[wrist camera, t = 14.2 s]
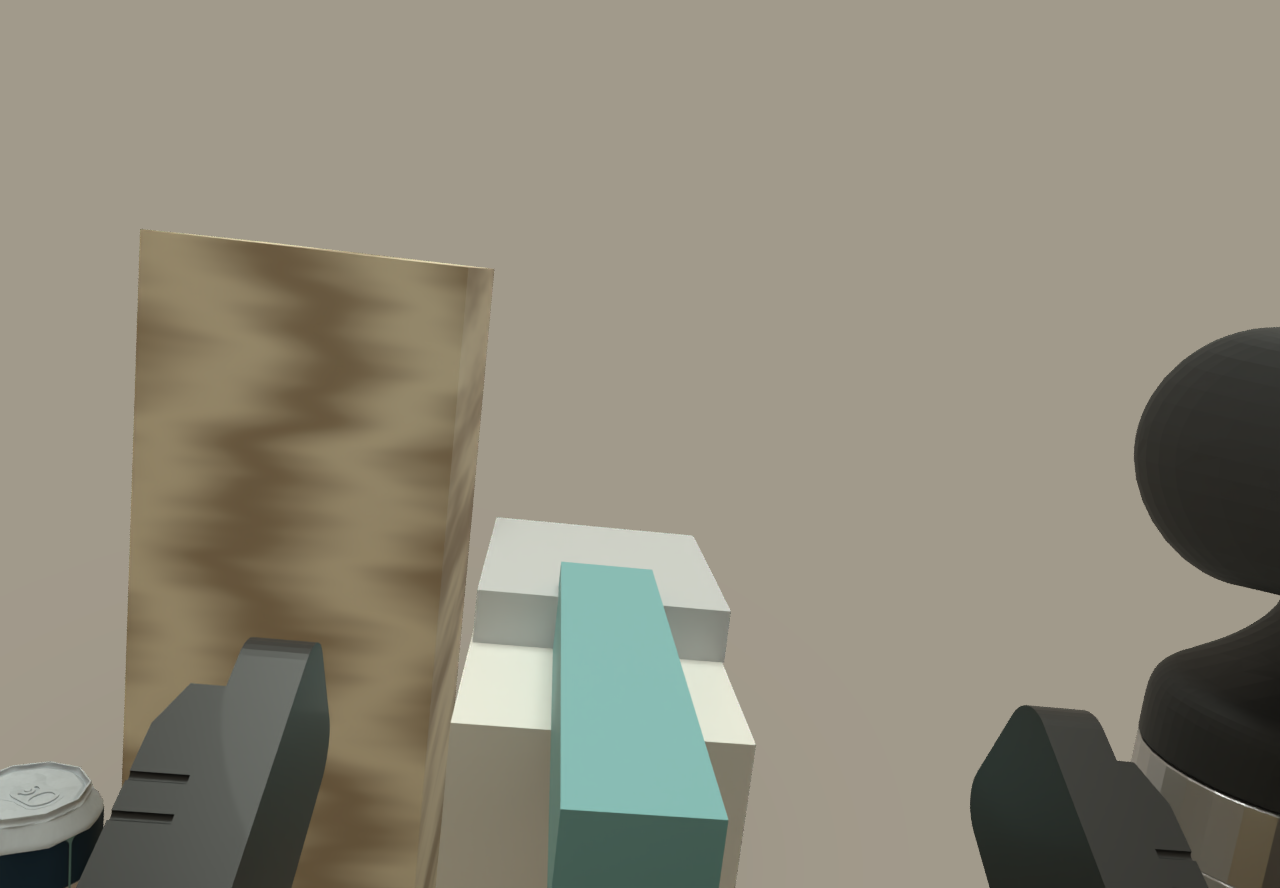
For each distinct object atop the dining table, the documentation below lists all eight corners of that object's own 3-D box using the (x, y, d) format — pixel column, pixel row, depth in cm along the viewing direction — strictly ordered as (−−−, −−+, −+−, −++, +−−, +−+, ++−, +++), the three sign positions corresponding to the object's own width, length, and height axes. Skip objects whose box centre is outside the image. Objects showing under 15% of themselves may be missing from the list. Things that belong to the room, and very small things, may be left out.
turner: (687, 576, 35) (695, 516, 35) (845, 955, 16) (866, 828, 15) (492, 558, 35) (498, 497, 34) (401, 931, 15) (413, 799, 15)
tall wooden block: (434, 928, 48) (494, 269, 43) (392, 1141, 36) (468, 267, 31) (223, 917, 47) (259, 241, 42) (110, 1132, 35) (140, 228, 30)
